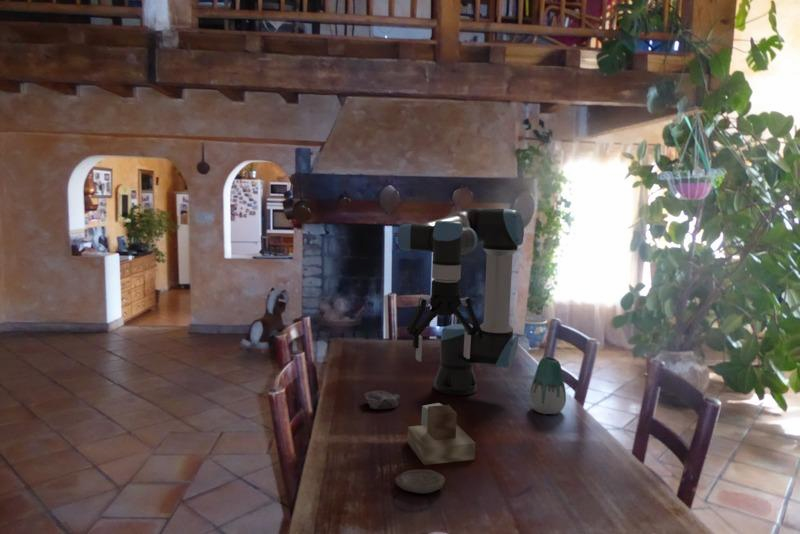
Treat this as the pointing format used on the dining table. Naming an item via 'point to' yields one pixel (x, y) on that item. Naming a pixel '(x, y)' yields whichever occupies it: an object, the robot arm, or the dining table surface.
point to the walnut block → (441, 422)
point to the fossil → (420, 481)
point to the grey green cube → (426, 412)
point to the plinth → (440, 446)
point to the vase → (548, 387)
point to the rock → (382, 399)
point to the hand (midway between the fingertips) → (442, 358)
